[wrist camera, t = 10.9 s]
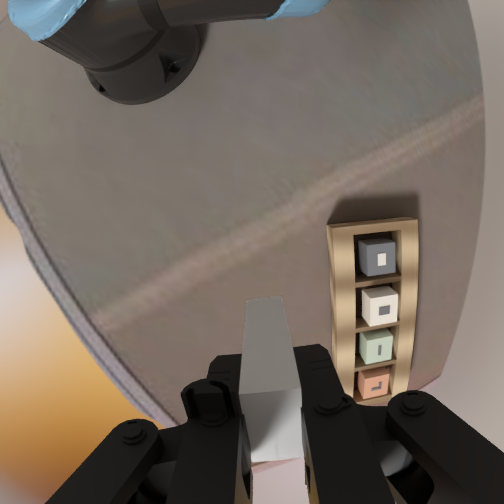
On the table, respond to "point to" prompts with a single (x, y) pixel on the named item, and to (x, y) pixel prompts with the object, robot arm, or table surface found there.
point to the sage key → (375, 345)
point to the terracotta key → (373, 382)
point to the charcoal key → (376, 256)
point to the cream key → (379, 305)
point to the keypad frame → (347, 281)
